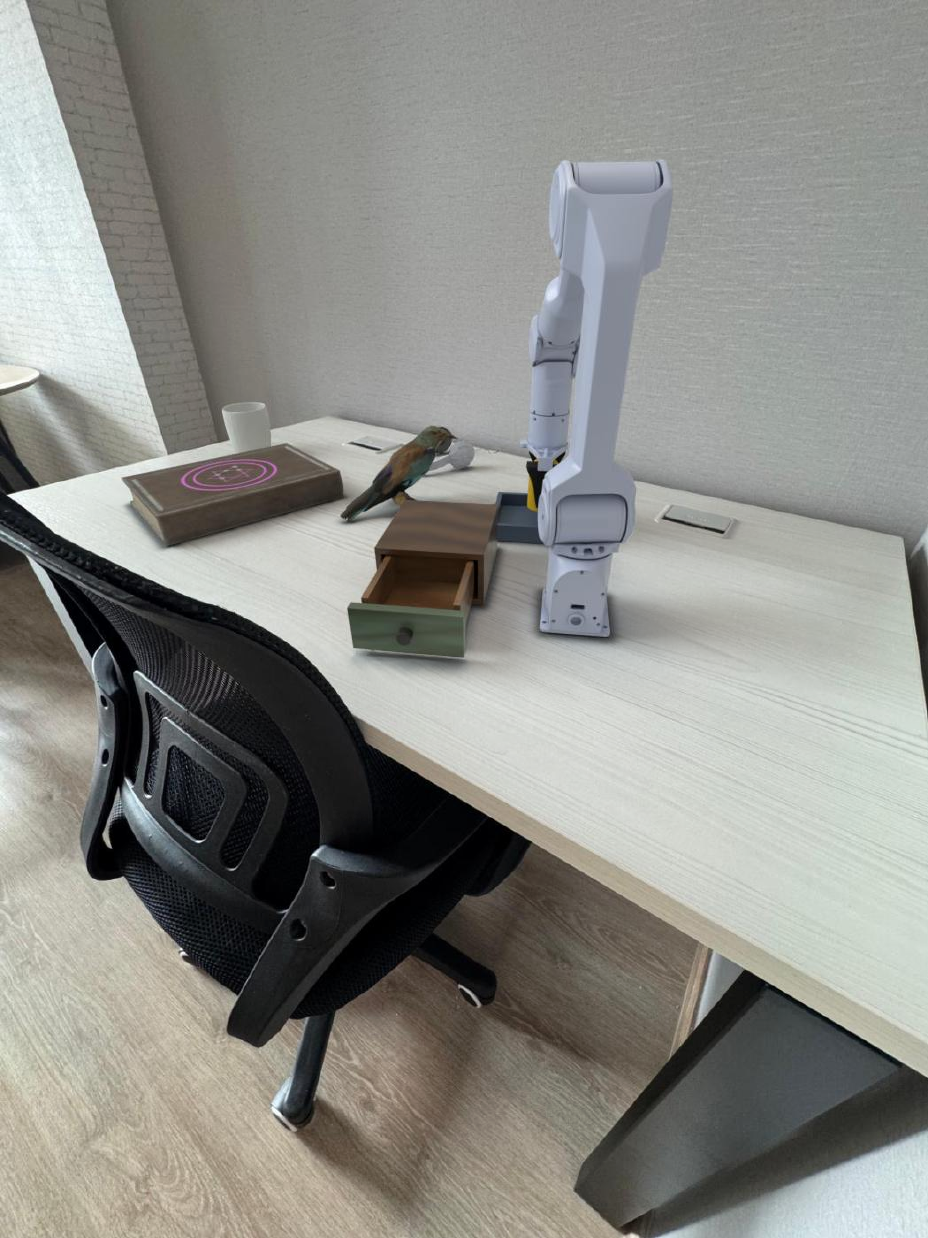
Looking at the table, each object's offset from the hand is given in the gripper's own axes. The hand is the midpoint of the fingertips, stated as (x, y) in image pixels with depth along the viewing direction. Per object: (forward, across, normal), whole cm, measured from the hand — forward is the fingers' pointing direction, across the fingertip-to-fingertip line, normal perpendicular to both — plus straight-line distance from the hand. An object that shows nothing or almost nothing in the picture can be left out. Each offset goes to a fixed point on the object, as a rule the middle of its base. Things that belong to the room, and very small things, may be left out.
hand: (543, 500), depth 88 cm
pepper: (+1, 0, 0) cm, 1 cm away
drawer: (+3, +31, -13) cm, 34 cm away
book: (+4, -3, -54) cm, 54 cm away
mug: (+4, -30, -65) cm, 72 cm away
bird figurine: (+4, -3, -24) cm, 25 cm away
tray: (+4, 0, 0) cm, 4 cm away
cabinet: (+4, +18, -13) cm, 22 cm away
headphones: (+4, -27, -22) cm, 35 cm away
